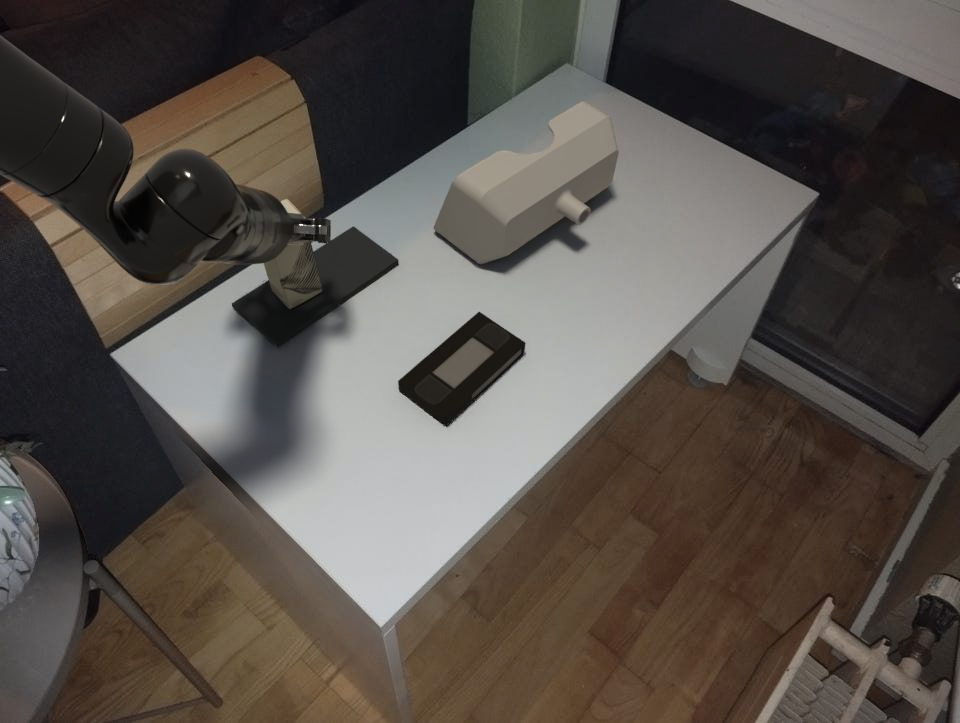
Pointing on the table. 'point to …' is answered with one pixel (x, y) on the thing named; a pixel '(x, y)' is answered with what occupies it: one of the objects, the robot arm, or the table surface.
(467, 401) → the vhs tape
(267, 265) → the box
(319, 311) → the scrub mat
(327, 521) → the table surface
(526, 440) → the table surface
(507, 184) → the tank
